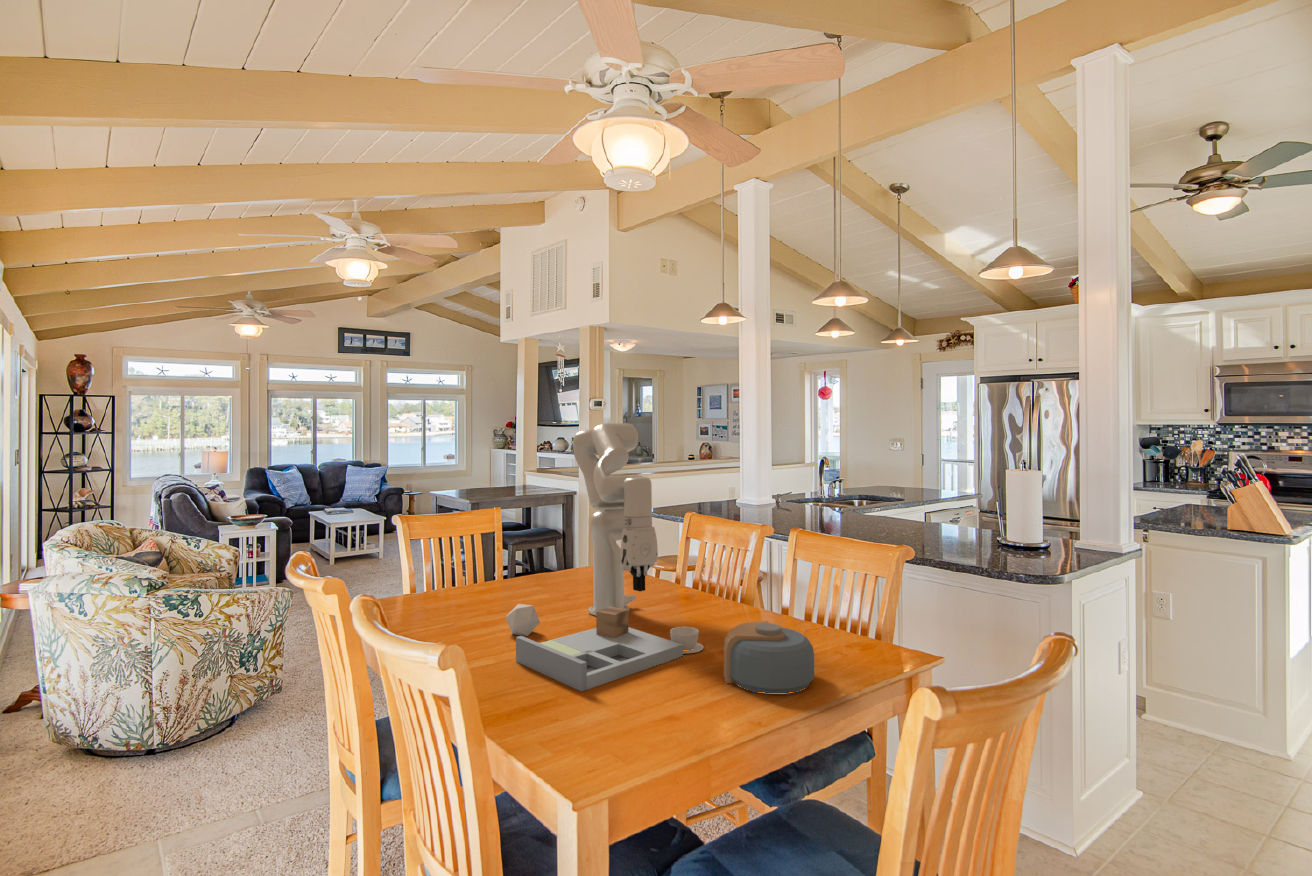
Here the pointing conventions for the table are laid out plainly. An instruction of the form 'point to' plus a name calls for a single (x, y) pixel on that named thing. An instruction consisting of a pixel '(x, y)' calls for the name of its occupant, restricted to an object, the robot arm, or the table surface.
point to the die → (522, 619)
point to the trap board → (595, 656)
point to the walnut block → (612, 622)
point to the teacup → (686, 638)
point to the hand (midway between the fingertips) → (639, 590)
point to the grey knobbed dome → (768, 658)
